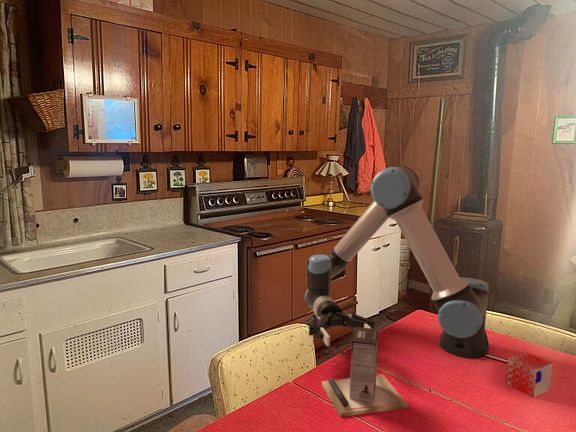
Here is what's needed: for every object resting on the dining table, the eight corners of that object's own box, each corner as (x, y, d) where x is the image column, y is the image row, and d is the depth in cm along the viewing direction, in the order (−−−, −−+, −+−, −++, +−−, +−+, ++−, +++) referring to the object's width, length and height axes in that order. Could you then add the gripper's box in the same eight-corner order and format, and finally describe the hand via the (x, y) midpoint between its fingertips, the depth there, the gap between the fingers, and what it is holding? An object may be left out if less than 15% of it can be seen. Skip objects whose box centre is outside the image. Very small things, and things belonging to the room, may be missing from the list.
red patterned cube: (521, 376, 131) (524, 351, 130) (549, 389, 125) (552, 362, 124) (505, 384, 127) (508, 358, 126) (533, 398, 121) (536, 370, 119)
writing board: (382, 377, 129) (382, 368, 129) (407, 408, 115) (408, 397, 115) (321, 384, 125) (322, 375, 125) (340, 417, 111) (340, 406, 110)
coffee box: (352, 381, 125) (354, 325, 122) (376, 384, 124) (379, 328, 121) (348, 399, 116) (351, 340, 114) (374, 403, 115) (377, 343, 112)
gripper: (363, 319, 151) (392, 347, 131) (290, 325, 145) (308, 356, 125) (364, 297, 150) (393, 323, 130) (290, 302, 144) (309, 330, 124)
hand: (351, 339), depth 127 cm, fingers open, 13 cm apart
